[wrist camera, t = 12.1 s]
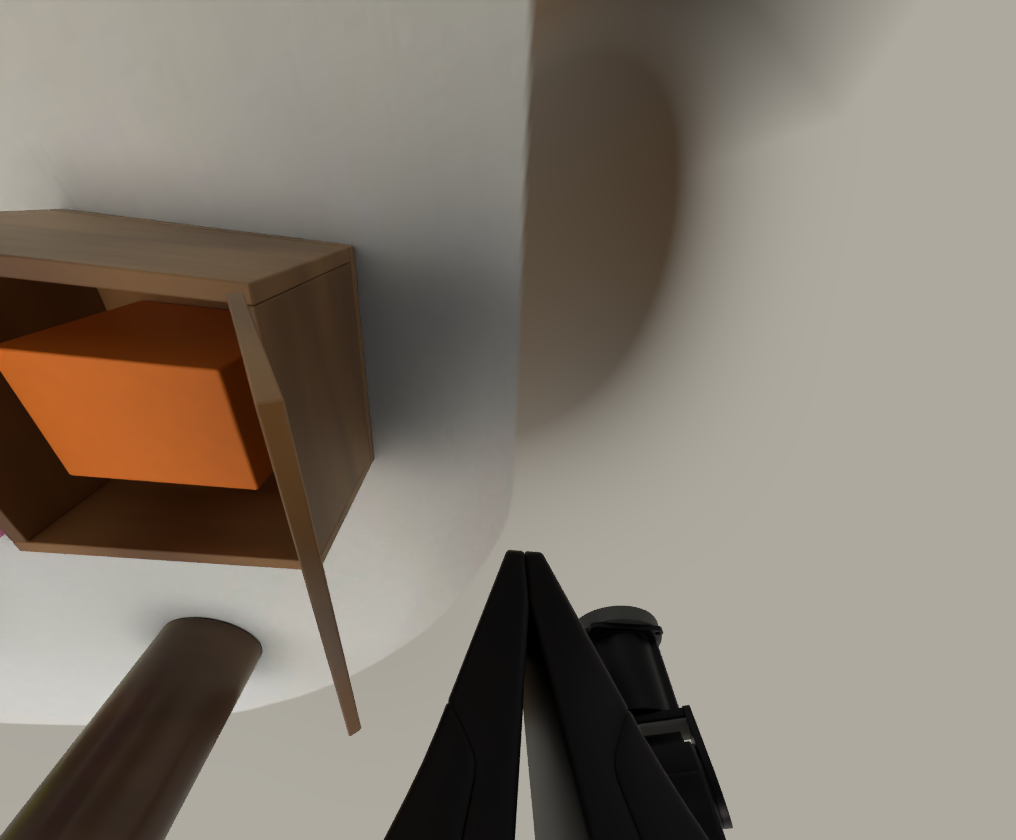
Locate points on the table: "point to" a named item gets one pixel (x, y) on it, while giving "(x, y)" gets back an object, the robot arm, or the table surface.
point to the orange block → (143, 396)
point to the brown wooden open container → (202, 283)
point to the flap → (292, 495)
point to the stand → (145, 740)
